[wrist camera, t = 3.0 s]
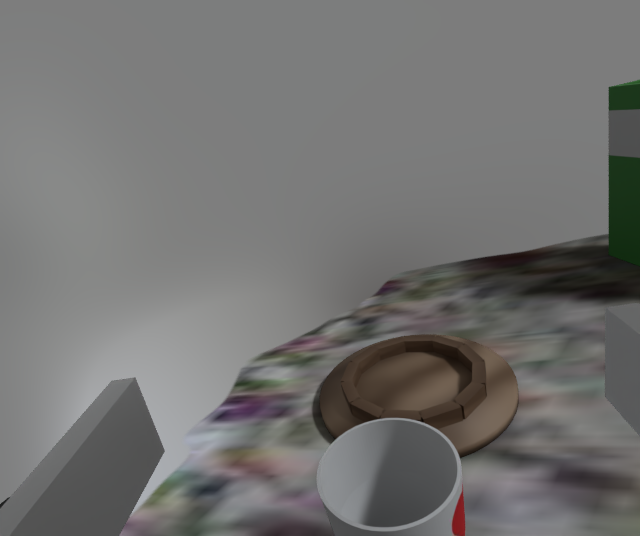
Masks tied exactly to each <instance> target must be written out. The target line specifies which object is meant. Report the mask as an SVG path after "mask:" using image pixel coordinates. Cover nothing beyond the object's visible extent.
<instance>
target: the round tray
mask: <svg viewBox="0 0 640 536" xmlns="http://www.w3.org/2000/svg"><path fill="white" fill-rule="evenodd" d="M517 407H518V384H517V380H516V376H515V374H514V372H513V370H512V369H511V367H510V366H509V365H508V363H507V362H506V361H505V360H504V359H503V358H502V357H501V356H499V355H498V354H497V353H495V352H494V351H492V350H491V349H489V348H487V347H485V346H483V345H481V344H478V343H476V342H473V341H470V340H466V339H462V338H458V337H453V336H446V335H410V336H401V337H397V338H392V339H388V340H384V341H381V342H378V343H375V344H372V345H370V346H367V347H365V348H363V349H361V350H359V351H357V352H355V353H353V354H352V355H350V356H349V357H347V358H346V359H344V360H343V361H342V362H341V363H339V364H338V365H337V366H336V367H335V368H334V369H333V370H332V372H331V373H330V374H329V375H328V377H327V379H326V380H325V382H324V384H323V386H322V389H321V393H320V409H321V413H322V417H323V421H324V423H325V425H326V428H327V429H328V431H329V432H330V434H331V435H332V436H333V437H334V438H335V439H337V438H338V437H339V436H341V435H342V434H343V433H345V432H346V431H348V430H350V429H351V428H353V427H355V426H358V425H360V424H363V423H366V422H369V421H372V420H377V419H384V418H405V419H412V420H416V421H420V422H423V423H425V424H428V425H430V426H432V427H434V428H436V429H437V430H439V431H440V432H442V433H443V434H444V435H445V436H446V437H447V438H448V439H449V440H450V441H451V442H452V444H453V445H454V447H455V448H456V450H457V452H458V454H459V457H460V458H461V457H464V456H466V455H469V454H471V453H474V452H476V451H478V450H479V449H481V448H483V447H485V446H487V445H488V444H490V443H491V442H492V441H494V440H495V439H496V438H498V437H499V436H500V435H501V434H502V433H503V432H504V431H505V430H506V429H507V427H508V426H509V424H510V423H511V422H512V420H513V418H514V416H515V414H516V411H517Z"/></svg>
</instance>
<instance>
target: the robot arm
mask: <svg viewBox="0 0 640 536" xmlns="http://www.w3.org/2000/svg"><path fill="white" fill-rule="evenodd" d="M605 397H606V398H607V399H608V401H609V402H610V403H611V404H612V405H613V406H614V407H615V408H616V410H617V411H618V412H619V413H620V414H621V415H622V416H623V418H624V419H625V420H626V421H627V422H628V423H629V424H630V426H631V427H632V428H633V429H634V430H635V431H636V432H637V434H638V435H639V436H640V304H638V303H632V304H626V305H619V306H612V307H605ZM163 453H164V448H163V445H162V443H161V441H160V438H159V435H158V433H157V430H156V428H155V426H154V423H153V421H152V418H151V415H150V413H149V410H148V408H147V406H146V403H145V401H144V398H143V396H142V393H141V391H140V388H139V386H138V383H137V381H136V378H129V379H122V380H115V381H111V382H110V383H109V385H108V386H107V387H106V388H105V389H104V390H103V391H102V393H101V394H100V395H99V396H98V397H97V399H95V401H94V402H93V403H92V404H91V405H90V406H89V407H88V409H87V410H86V411H85V412H84V413H83V414H82V415H81V417H80V418H79V419H78V420H77V421H76V422H75V424H74V425H73V426H72V427H71V428H70V430H68V432H67V433H66V434H65V435H64V436H63V437H62V439H61V440H60V441H59V442H58V443H57V444H56V445H55V446H54V448H53V449H52V450H51V451H50V452H49V453H48V455H47V456H46V457H45V458H44V459H43V460H42V461H41V462H40V464H39V465H38V466H37V467H36V468H35V470H33V472H32V473H31V474H30V475H29V476H28V477H27V479H26V480H25V481H24V482H23V483H22V484H21V485H20V487H19V488H18V489H17V490H16V491H15V492H14V494H13V495H12V496H11V497H9V498H7V499H6V500H5V501H4V502H2V503H1V504H0V536H119V535H120V533H121V531H122V529H123V527H124V526H125V524H126V522H127V520H128V518H129V516H130V514H131V513H132V511H133V509H134V507H135V505H136V503H137V502H138V500H139V498H140V496H141V494H142V492H143V490H144V488H145V487H146V485H147V483H148V481H149V479H150V477H151V476H152V474H153V472H154V470H155V468H156V466H157V465H158V463H159V461H160V459H161V457H162V455H163Z"/></svg>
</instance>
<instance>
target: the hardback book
mask: <svg viewBox="0 0 640 536" xmlns="http://www.w3.org/2000/svg"><path fill="white" fill-rule="evenodd" d="M609 255H610V256H613V257H616V258H619V259H621V260H624V261H627V262H629V263H632V264H635V265H638V266H640V80H637V81H633V82H629V83H624V84H620V85H616V86H612V87H609Z"/></svg>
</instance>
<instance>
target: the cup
mask: <svg viewBox="0 0 640 536" xmlns="http://www.w3.org/2000/svg"><path fill="white" fill-rule="evenodd" d="M317 487H318V491H319V494H320V497H321V500H322V502H323V505H324V508H325V510H326V513H327V516H328V518H329V521H330V524H331V527H332V529H333V532H334V535H335V536H465V514H464V499H463V484H462V469H461V461H460V457H459V454H458V452H457V450H456V448H455V447H454V445H453V444H452V442H451V441H450V440H449V439H448V438H447V437H446V436H445V435H444V434H443V433H442V432H440V431H439V430H437V429H436V428H434V427H432V426H430V425H428V424H425V423H423V422H420V421H416V420H412V419H405V418H384V419H377V420H372V421H369V422H366V423H363V424H360V425H358V426H355V427H353V428H351V429H350V430H348V431H346V432H345V433H343V434H342V435H341V436H339V437H338V438H337V439H336V440H335V441H334V442H333V443H332V444H331V445H330V446H329V447H328V449H327V450H326V451H325V453H324V455H323V456H322V458H321V461H320V463H319V466H318V471H317Z"/></svg>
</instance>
